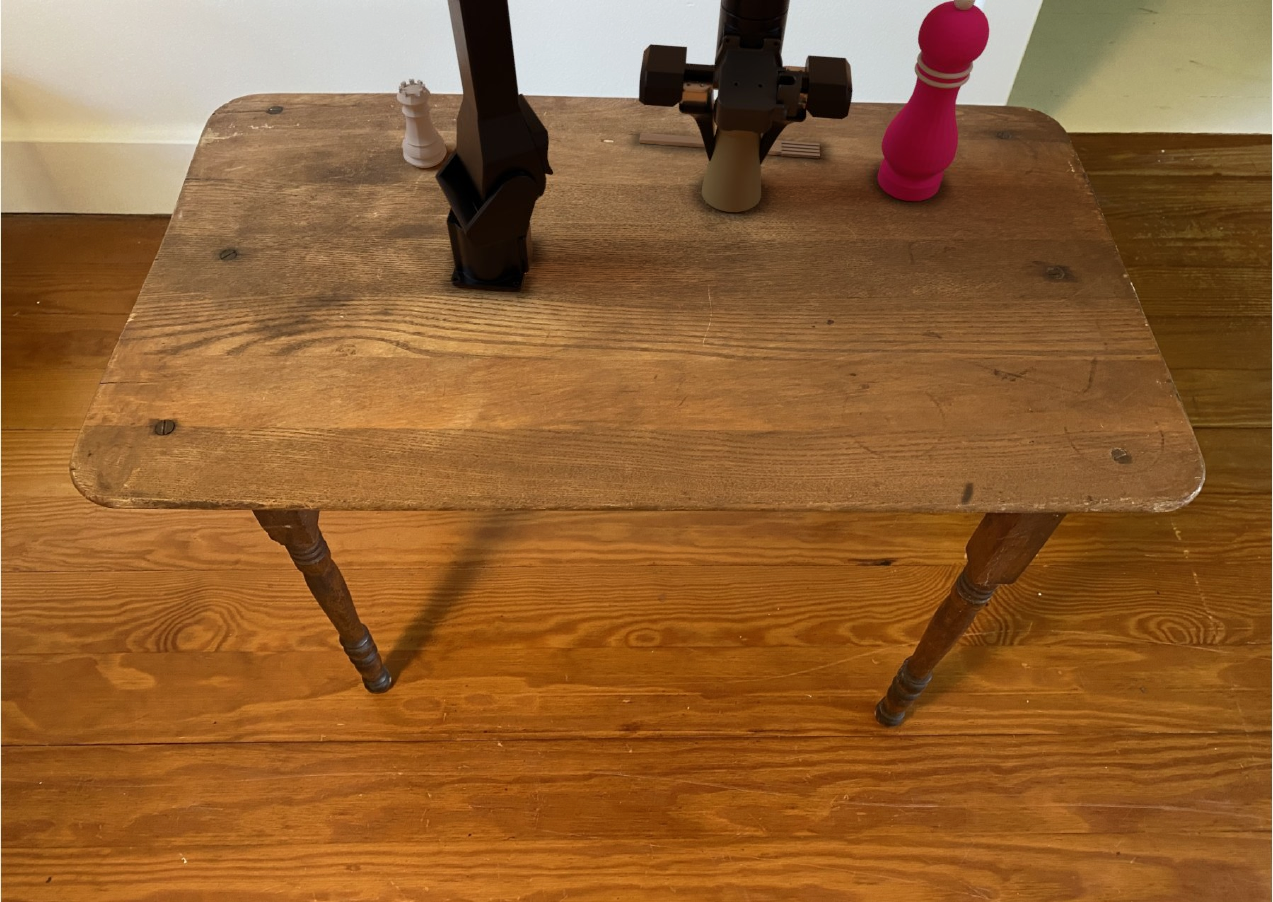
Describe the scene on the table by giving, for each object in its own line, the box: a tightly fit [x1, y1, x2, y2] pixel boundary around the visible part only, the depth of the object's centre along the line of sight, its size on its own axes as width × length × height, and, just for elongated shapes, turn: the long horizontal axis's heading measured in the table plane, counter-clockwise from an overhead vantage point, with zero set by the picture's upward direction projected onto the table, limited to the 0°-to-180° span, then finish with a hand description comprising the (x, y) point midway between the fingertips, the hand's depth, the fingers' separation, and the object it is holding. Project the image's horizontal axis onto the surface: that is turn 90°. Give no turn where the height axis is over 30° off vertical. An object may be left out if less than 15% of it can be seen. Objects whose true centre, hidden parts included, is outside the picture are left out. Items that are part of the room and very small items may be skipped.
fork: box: [639, 132, 821, 160], centre depth 97 cm, size 19×2×1 cm, turn 85°
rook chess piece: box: [396, 78, 447, 169], centre depth 92 cm, size 4×4×8 cm
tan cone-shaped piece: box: [701, 97, 762, 213], centre depth 88 cm, size 6×6×11 cm
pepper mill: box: [877, 0, 990, 202], centre depth 86 cm, size 7×7×20 cm
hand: (734, 160), depth 89 cm, fingers closed on tan cone-shaped piece, 4 cm apart
